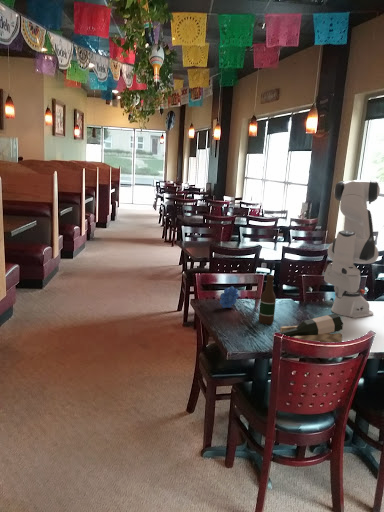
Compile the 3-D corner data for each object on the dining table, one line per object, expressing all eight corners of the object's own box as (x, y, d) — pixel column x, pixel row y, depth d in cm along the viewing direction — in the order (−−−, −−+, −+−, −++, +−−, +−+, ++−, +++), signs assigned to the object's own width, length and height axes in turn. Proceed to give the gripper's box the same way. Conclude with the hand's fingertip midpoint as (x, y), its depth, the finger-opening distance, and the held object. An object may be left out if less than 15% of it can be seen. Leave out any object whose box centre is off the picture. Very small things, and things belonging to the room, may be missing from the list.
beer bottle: (275, 325, 207) (280, 277, 202) (259, 324, 206) (264, 277, 201) (271, 319, 214) (276, 273, 209) (256, 319, 213) (260, 273, 209)
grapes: (233, 304, 235) (235, 283, 232) (239, 308, 229) (241, 287, 226) (215, 306, 230) (216, 285, 227) (221, 310, 224) (222, 288, 221)
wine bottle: (344, 332, 190) (284, 347, 182) (333, 329, 198) (275, 344, 190) (341, 314, 190) (280, 328, 182) (330, 312, 198) (272, 325, 190)
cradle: (324, 331, 202) (325, 324, 202) (341, 341, 190) (342, 334, 190) (279, 334, 195) (280, 326, 195) (294, 345, 183) (295, 337, 183)
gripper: (322, 262, 198) (319, 290, 201) (350, 272, 179) (346, 303, 182) (334, 262, 200) (330, 290, 203) (363, 272, 181) (358, 303, 184)
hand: (338, 296), depth 192 cm, fingers closed
